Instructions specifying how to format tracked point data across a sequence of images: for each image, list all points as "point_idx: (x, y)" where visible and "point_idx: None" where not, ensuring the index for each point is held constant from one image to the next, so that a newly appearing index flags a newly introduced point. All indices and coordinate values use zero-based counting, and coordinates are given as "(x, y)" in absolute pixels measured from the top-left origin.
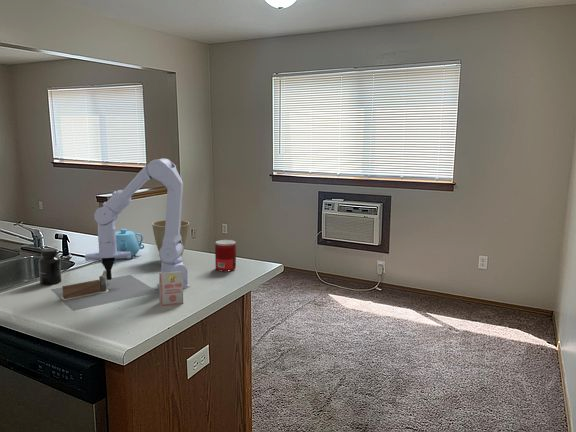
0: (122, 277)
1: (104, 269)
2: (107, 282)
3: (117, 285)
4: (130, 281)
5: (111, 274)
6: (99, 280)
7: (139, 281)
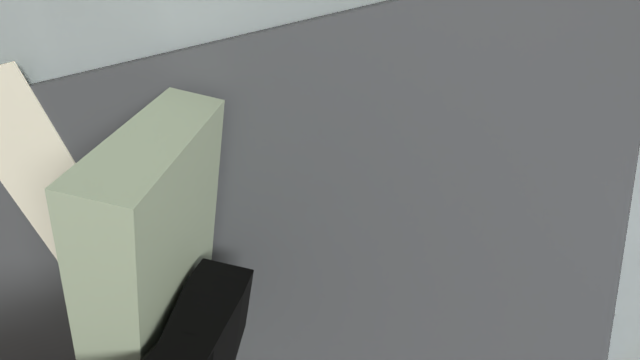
0: (459, 73)
1: (67, 270)
2: (211, 254)
3: (318, 341)
4: (493, 292)
5: (238, 305)
6: (93, 77)
7: (591, 333)
